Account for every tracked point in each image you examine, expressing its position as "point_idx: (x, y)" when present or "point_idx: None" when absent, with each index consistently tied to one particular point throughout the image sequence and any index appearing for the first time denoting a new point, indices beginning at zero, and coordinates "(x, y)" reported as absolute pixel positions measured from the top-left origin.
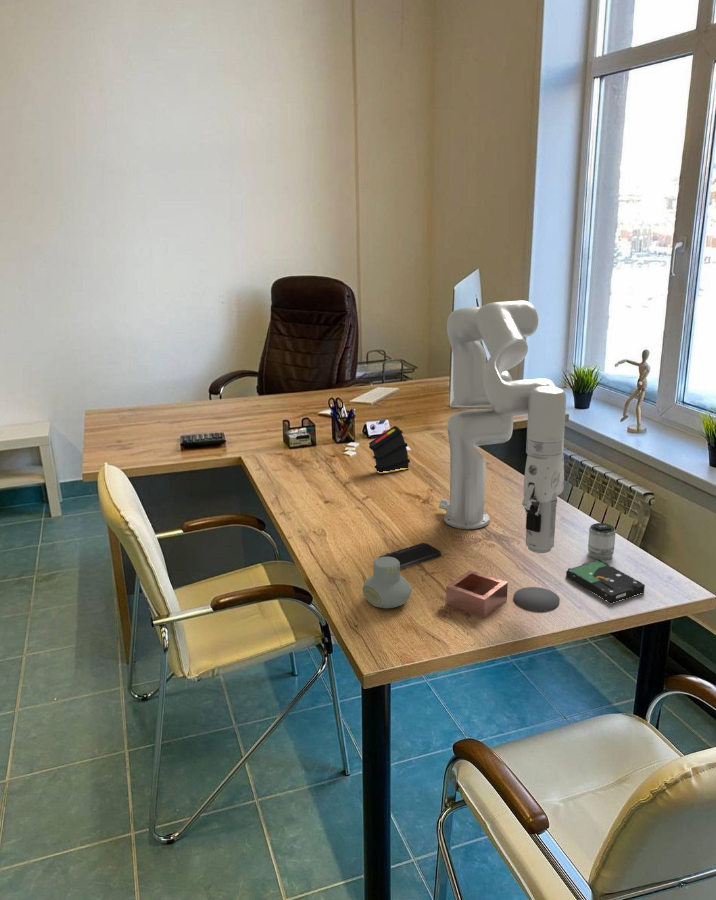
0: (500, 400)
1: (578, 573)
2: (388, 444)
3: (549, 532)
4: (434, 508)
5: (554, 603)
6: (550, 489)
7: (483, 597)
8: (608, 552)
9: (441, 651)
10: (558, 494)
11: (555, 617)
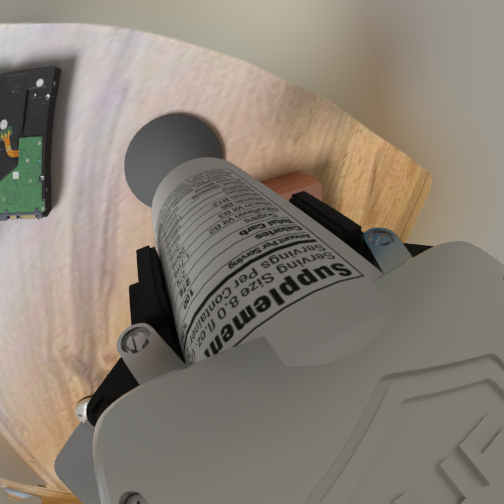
0: None
1: (36, 188)
2: None
3: (239, 176)
4: None
5: (161, 124)
6: (487, 336)
7: (316, 189)
8: None
9: (388, 149)
10: (225, 356)
11: (198, 89)
